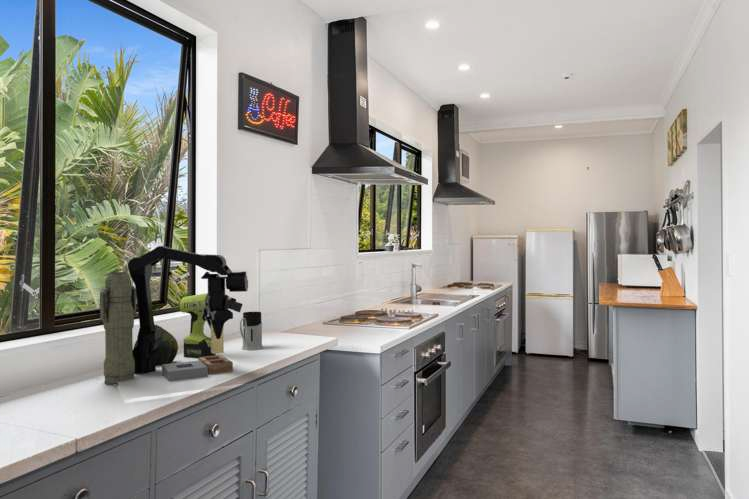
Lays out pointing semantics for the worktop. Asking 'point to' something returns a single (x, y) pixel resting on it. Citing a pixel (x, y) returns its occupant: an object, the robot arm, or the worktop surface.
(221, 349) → the block
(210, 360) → the walnut rack
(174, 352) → the squash
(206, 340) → the cordless drill
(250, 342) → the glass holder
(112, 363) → the olive carved statue
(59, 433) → the worktop surface
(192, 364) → the socket block
